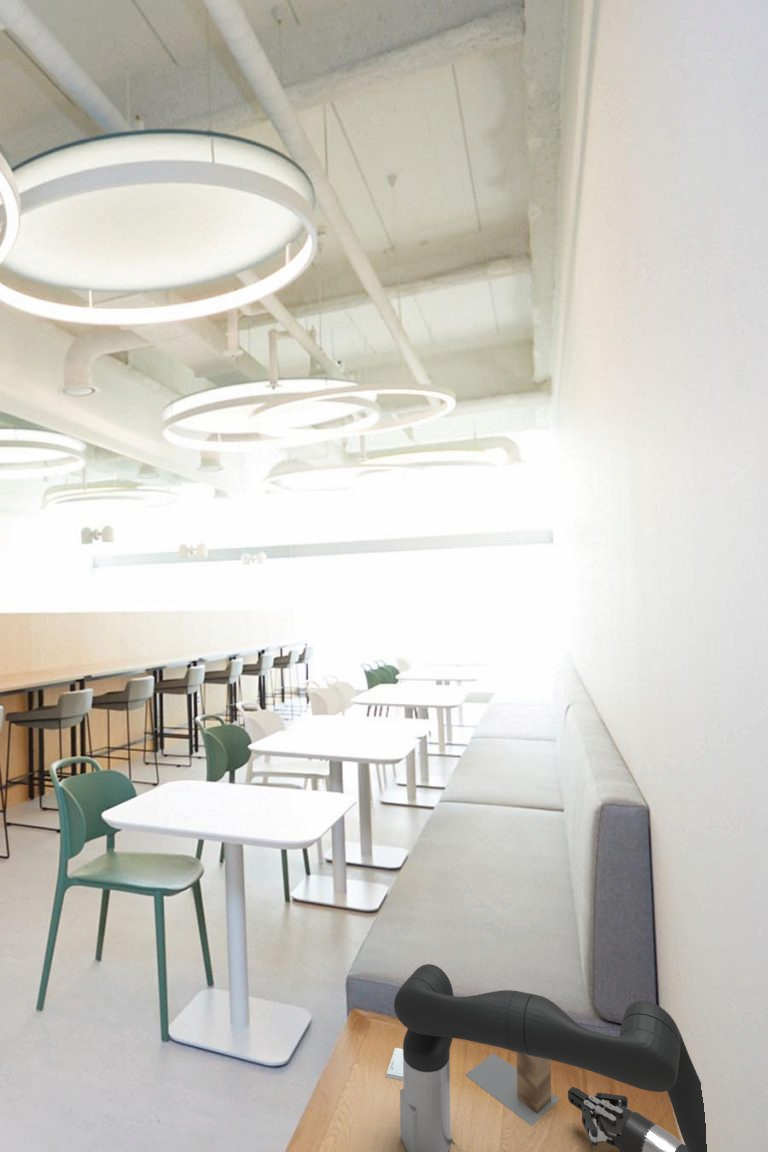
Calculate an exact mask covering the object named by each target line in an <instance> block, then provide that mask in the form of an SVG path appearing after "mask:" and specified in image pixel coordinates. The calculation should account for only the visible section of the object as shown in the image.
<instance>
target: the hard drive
mask: <svg viewBox="0 0 768 1152" xmlns="http://www.w3.org/2000/svg"><path fill="white" fill-rule="evenodd" d="M386 1078H387V1079H393V1080H397V1081H402V1082H404V1078H403V1048H398V1047H394V1050H393V1053H392V1056H391V1059H390V1061H389V1065H388V1068H387V1071H386Z"/></svg>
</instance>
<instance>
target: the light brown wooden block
mask: <svg viewBox="0 0 768 1152" xmlns="http://www.w3.org/2000/svg"><path fill="white" fill-rule="evenodd" d="M551 1061H552V1060H549V1059H545V1058H540V1057H534V1056H530V1055H526V1054H522V1053H518V1052H516V1069H517V1099H518V1100H519V1101H520V1102H522V1103H523V1104H525V1105H526V1106H527V1107H529V1108H530V1109H531V1110H533V1111H534V1112H535V1113H538V1112H540V1111H541V1110H542V1109H543V1108H544V1107H545V1106H546V1105H547V1104H548V1103H549V1102H550V1101H551V1093H552V1077H551V1076H552V1067H551V1066H552V1064H551Z"/></svg>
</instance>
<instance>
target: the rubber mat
mask: <svg viewBox="0 0 768 1152" xmlns="http://www.w3.org/2000/svg"><path fill="white" fill-rule="evenodd" d="M464 1075H465V1077H467V1078H468V1079H470V1080H471V1081H472V1082H474V1083H475V1084H476V1085H477V1086H478V1087H480V1088H481V1089H482V1090H484V1091H485V1092H486V1093H487V1094H489V1095H490V1096H491V1097H493V1098H494V1099H496V1100H497V1101H498V1102H499V1103H501V1104H502V1105H503V1106H504V1107H506V1108H507V1109H508V1110H510V1111H511V1112H513V1113H514V1114H515V1115H516V1116H518V1117H519V1118H521V1119H522V1120H523V1121H524V1122H525V1123H527V1124H528V1125H529V1126H531V1127H533V1126H534V1124H535V1123H537V1122H538V1121H539V1120H540V1119H541V1118H542V1117H543V1116H544V1115H545V1114H546V1113H547V1112H548V1111H550V1110H551V1109H552V1107H554V1106H555V1105H556V1104H557V1103H558V1102H559V1101H560V1098H559V1097H558V1096H556V1095H555V1094H554V1093H552V1092H551V1101H550V1102H549V1103H548V1104H547V1105H546V1106H545V1107H544V1108H543V1109H542V1110H541V1111H540V1112H538V1113H535V1112H534V1111H533V1110H531V1109H530V1108H529V1107H527V1106H526V1105H525V1104H523V1103H522V1102H520V1101H519V1100H518V1099H517V1067H515V1066H513V1065H511V1064H510V1063H509V1062H507V1061H506V1060H505V1059H503V1058H501V1056H499V1055H497V1054H496V1053H495V1052H492V1053H491V1054H490V1055H489V1056H487V1057H486V1058H485V1059H484V1060H482V1061H481V1062H480V1063H478V1064H477V1065H475V1066H474V1067H473V1068H472V1069H471V1070H469V1071H467V1073H465V1074H464Z"/></svg>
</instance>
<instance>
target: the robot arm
mask: <svg viewBox="0 0 768 1152" xmlns="http://www.w3.org/2000/svg"><path fill="white" fill-rule="evenodd" d="M393 1008H394V1013H395V1015H396V1018H397V1019H398V1020H399V1022H400V1023H401V1024H402V1025H403V1026H404V1027H405V1028H406V1029H407V1030H406V1033H405V1035H404V1037H403V1042H402V1049H403V1078H404V1081H403V1088H401V1089H399V1115H400V1116H399V1117H400V1118H399V1120H400V1121H399V1123H400V1124H399V1125H400V1127H399V1128H400V1132H399V1134H400V1139H401V1141H402V1143H403V1146H404V1148H405V1150H406V1152H449V1151H450V1148H451V1139H452V1137H451V1134H452V1130H451V1084H450V1083H451V1081H450V1080H451V1075H450V1074H451V1072H450V1071H451V1069H450V1068H451V1063H450V1061H451V1059H450V1057H451V1056H450V1054H451V1053H450V1051H451V1045H452V1042H453V1039H458V1040H463V1041H469V1042H473V1043H478V1044H482V1045H486V1046H492V1047H496V1048H500V1049H504V1050H508V1051H511V1052H514V1053H517V1052H518V1053H522V1054H526V1055H530V1056H534V1057H540V1058H545V1059H549V1060H551V1061H554V1062H556V1063H562V1064H564V1065H565V1064H566V1065H568V1066H573V1067H576V1068H579V1069H583V1070H586V1071H589V1072H591V1073H595V1074H598V1075H601V1076H603V1077H606V1078H609V1079H611V1080H614V1081H618V1082H620V1083H623V1084H626V1085H629V1086H631V1087H634V1088H637V1089H640V1090H645V1091H647V1092H654V1093H664V1092H667V1095H668V1098H669V1100H670V1104H671V1105H672V1106H671V1107H672V1110H673V1113H674V1116H675V1119H676V1123H677V1126H678V1129H679V1131H680V1135H681V1137H682V1140H683V1142H684V1143H683V1142H681V1141H680V1140H679V1139H678V1137H675V1136H674V1135H673V1134H671V1133H670V1132H669V1131H667V1130H665V1128H663V1127H661V1126H660V1125H658V1124H656V1123H655V1122H654V1121H652V1120H650V1119H649V1118H647V1117H645V1115H642V1114H641V1113H640V1112H638V1111H632V1110H631V1109H629V1098H628V1097H627V1096H626V1095H622V1094H621V1095H620V1094H615V1093H614V1094H613V1093H605V1092H596V1095H593V1094H591V1095H588V1094H587V1093H586V1092H584V1090H583V1091H582V1090H581V1089H580V1088H577V1087H575V1086H571V1088H569V1089H568V1090H567V1099H568V1102H569V1103H570V1104H571V1105H573V1106H574V1107H576V1109H578V1110H580V1111H581V1123H582V1126H583V1127H584V1130H585V1132H586V1136H588V1139H589V1141H590V1144H591V1145H592V1146H593V1147H597V1146H598V1143H599V1142H605V1143H606V1144H607V1145H609V1146H612V1147H615V1148H617V1150H619V1152H707V1144H706V1123H705V1112H704V1103H703V1097H702V1090H701V1084H702V1082H701V1080H700V1077H699V1075H698V1073H697V1071H696V1069H695V1066H694V1064H693V1061H692V1059H691V1056H690V1054H689V1051H688V1049H687V1047H686V1044H685V1041H684V1039H683V1037H682V1034H681V1031H680V1030H679V1027H678V1026H677V1023H676V1022H675V1020H674V1019H673V1017H672V1015H670V1014H669V1013H668V1012H667V1011H666V1010H665V1009H663V1007H661V1006H660V1005H658V1004H656V1003H654V1002H651V1001H646V1000H636V1001H634V1002H632V1003H630V1004H629V1005H628V1006H627V1008H626V1009H625V1011H624V1014H623V1016H622V1021H621V1024H620V1030H619V1034H618V1035H617V1036H616V1035H609V1034H604V1033H600V1032H597V1031H594V1030H590V1029H589V1028H585V1027H584V1026H582V1025H580V1024H579V1023H578V1022H576V1021H575V1020H574V1019H573V1018H572V1017H571V1016H570V1015H568V1014H567V1013H566V1012H565V1011H564V1010H563V1009H562V1008H561V1007H559V1006H558V1005H557V1004H556V1003H555V1002H553V1001H552V1000H551V999H549V998H547V997H545V996H543V995H539V994H533V993H530V992H524V991H519V990H512V989H511V990H509V989H507V990H506V989H505V990H504V989H503V990H496V991H490V992H486V993H481V994H476V995H475V994H474V995H469V996H468V995H467V996H454V990H453V985H452V982H451V981H450V978H449V977H448V975H447V974H446V972H445V971H444V970H443V969H441V967H439V966H437V965H436V964H430V963H429V964H428V963H427V964H422V965H421V966H419V967H418V968H416V970H415V971H414V972H413V973H412V974H411V975H409V977H408V978H407V979H406V981H405V982H404V983H402V984H401V986H400V988H398V990H397V993H396V994H395V996H394V1002H393Z"/></svg>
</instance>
